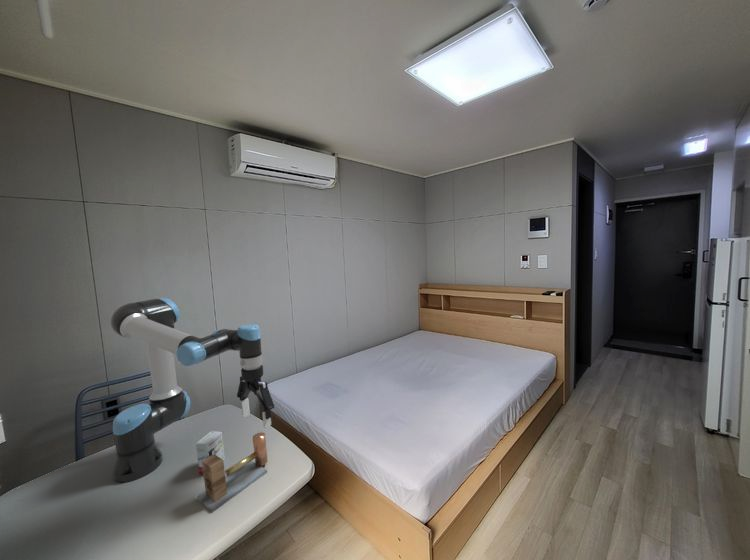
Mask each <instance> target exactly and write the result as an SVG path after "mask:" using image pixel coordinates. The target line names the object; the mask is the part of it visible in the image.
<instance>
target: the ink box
mask: <svg viewBox="0 0 750 560" xmlns="http://www.w3.org/2000/svg"><path fill="white" fill-rule="evenodd" d="M223 438H224V437H223V432H222V431H216V430H211V431H210V432H208V433H207V434H206V435H204V436H203V437H202V438H201V439H199V440H197V442H196V444H195V447H196V454H197V465H198V473H199V474H203V465H202V461H203V460H205V459H206V458H208V457H210V456H212V455H213V454H215V455H216V456H218V457H219V458H221V459H222V460H223V462H224V461H225V460H226V457H225V455H226V454H225V449H224V448H225V447H224V446H225V445H224V439H223Z"/></svg>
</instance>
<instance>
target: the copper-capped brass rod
mask: <svg viewBox="0 0 750 560" xmlns="http://www.w3.org/2000/svg"><path fill="white" fill-rule="evenodd" d="M252 444H253V452H252V453H251V454H249V455H247V456H246V457H244V458H243V459H241V460H239V461H238V462H237V463H235V464H234V465H231V466H230V467H229V468H227V469H226V470H225V469H224V471H225V477H227V476H229V475H230V474H232V473H233V472H235V471H236V470H238V469H239V468H241V467H242V466H244V465H245V464H247V463H248V462H250V461H253V460H254V462H255V465H256V466H261V467H263V466H264V465H266V464H267V463H268V462H269V461H268V451H267V450H268V449H267V440H266V433H265V432H257V433H255V434H254V435H253V436H252Z"/></svg>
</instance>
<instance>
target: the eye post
mask: <svg viewBox="0 0 750 560" xmlns="http://www.w3.org/2000/svg"><path fill="white" fill-rule="evenodd" d="M202 465H203V473H202V474H203V480H204V482H203V483H204V489H205V490H204V491H203V492H202V493H201V492H200V493H199V494H198V495H197V496H196V500H198V501H199V502H200V503H201V504H202V505H203V506H205V507H206V508H207V510H209V511H210V512H211V513H213V512H215V511H216V510H217V509H219V508H220V507H222V506H223V505H224V504H226V503H227V502H228V501H230V500H232V499H233V498H234V497H235V496H237V495H239V494H240V493H241V492H242V491H244V490H245V489H247V488H248V487H249V486H251V485H252V484H254V483H255V482H256V481H257V480H259V479H260V478H261V477H264V476H265V475H266V474H267V473H268V470H267V468H264V467H263V466H256V465H255V461H253V460H251V461H250V462H248V463H247V464H245V465H244V466H242V467H241V468H239V469H238V470H236V471H235V472H233V473H232V474H230V475H229V476H226V474H225V464H224V461H223V460H222V459H221V458H219V457H218V456H216V455H215V454H213V455H212V456H210V457H208V458H206V459H205V460H203V461H202Z"/></svg>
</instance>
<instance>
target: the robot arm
mask: <svg viewBox="0 0 750 560" xmlns="http://www.w3.org/2000/svg"><path fill="white" fill-rule="evenodd" d="M180 315H181V314H180V310H179V307H178V306H177V304H176V302H174V301H173V300H171V299H170V298H166V297H160V298H152V299H148V300H143V301H142V300H141V301H136V302H129V303H126V304H123V305H121V306H119V307H118V308H117V309H115V310H114V312H113V313H112V315H111V318H110V326H111V329H112V330H113V332H115V333H116V334H118V335H119V336H121V337H123V338H125V339H137V340H139V341H141V342H144V343H146V350H147V356H148V357H147V358H148V363H149V372H150V379H151V385H152V386H151V387H152V393H151V395H149V404H148V403H140V404H136V405H132V406H130V407H128V408H125V409H124V410H122V411H120V412H119V413H117V415H116V416H115V417H114V419H113V421H112V434H113V438H114V444H115V451H116V460H115V464H114V467H113V472H112V473H113V480H114V481H115V482H117V483H127V482H132V481H134V480H138V479H140V478H143V477H145V476H146V475H149V474H150V473H152V472H153V471H155V470H156V469H157V468H158V467H160V465H161V464H162V463H163V459H164V458H163V453H162V451H161V449H160V447H159V446H158V445H157V443H156V440H155V434H156V433H158V432H159V431H162V430H163V429H165V428H166V427H168V426H170V425H172V424H174V423H175V422H178V421H180V420H181V419H183V417H185V416H186V415H187V414H188V412H189V411H190V408H191V399H190V396H189V395H188V392H186V390H183V388H182V387H180V386H179V385H178V381H177V373H176V372H177V371H176V365H175V357H174V354H175V355H176V359H177V361H178V362H180V365H182V366H185V367H191V366H194V365H197V364H199V363H202V362H204V361H206V360H209V359H210V358H213V357H215V356H218V355H221V354H223V353H225V352H228V351H238V352H239V358H240V359H239V363H240V368H241V369H240V372H241V375H240V376H239V384H238V385H239V386H238V388H237V389H238V390H237V393H236V397H237V398H239V400H240V403H241V404H240V405H241V415H242V418H246V417H248V416H249V415H250V414H251V411H250V410H251V409H250V401H249V395H250V393H251V392H252V393H253V395H255V396H256V397H257V398H258V402H259V403H260V405H261V407H262V409H263V410H262V411H261V412H262V424H263V425H262V426H263V428H264V429H267V428H268V427H270V426H272V412H271V410H273V409H274V408H275V404H274V402H273V399H272V396H271V393H270V390H269V387H268V382H267V381H262V377H264V376H263V375H264V365H263V363H264V362H263V353H262V340H261V339H262V336H261V335H262V334H261V331H260V326H259V325H258V324H253V323H250V324H244V325H243V324H242V325H240V326H238V327H237V329H230V328H221V329H216V330H214V331H213V332H212V333H211V334H210V335H209V334H208V335H206V336H203V337H197V336H196V335H195V336H194V335H192V334H189V333H187V332H183V331H181V330H180V329H179V330H178V329H175V324H176V323H177V322H178V321H179V319H180Z"/></svg>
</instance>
